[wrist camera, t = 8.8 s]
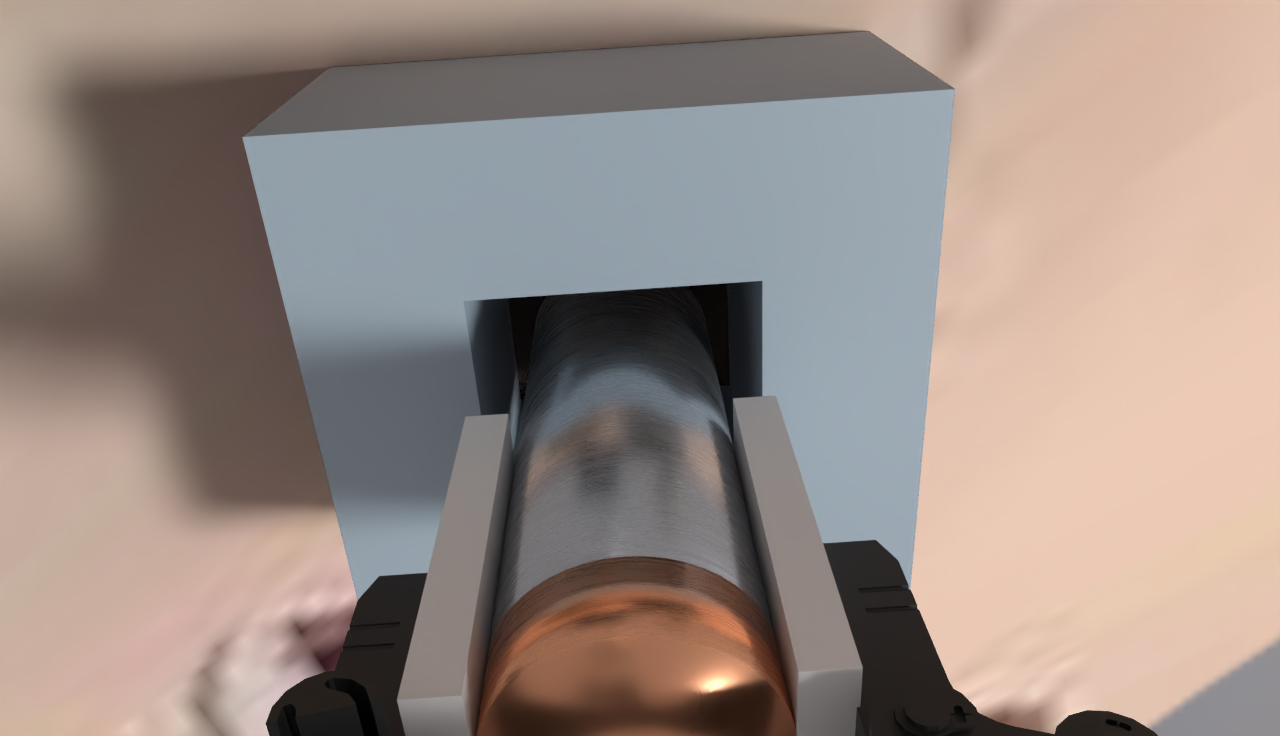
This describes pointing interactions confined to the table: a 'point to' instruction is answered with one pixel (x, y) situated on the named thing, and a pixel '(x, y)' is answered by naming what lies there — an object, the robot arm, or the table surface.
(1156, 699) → the table surface
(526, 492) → the lock pin
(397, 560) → the socket
